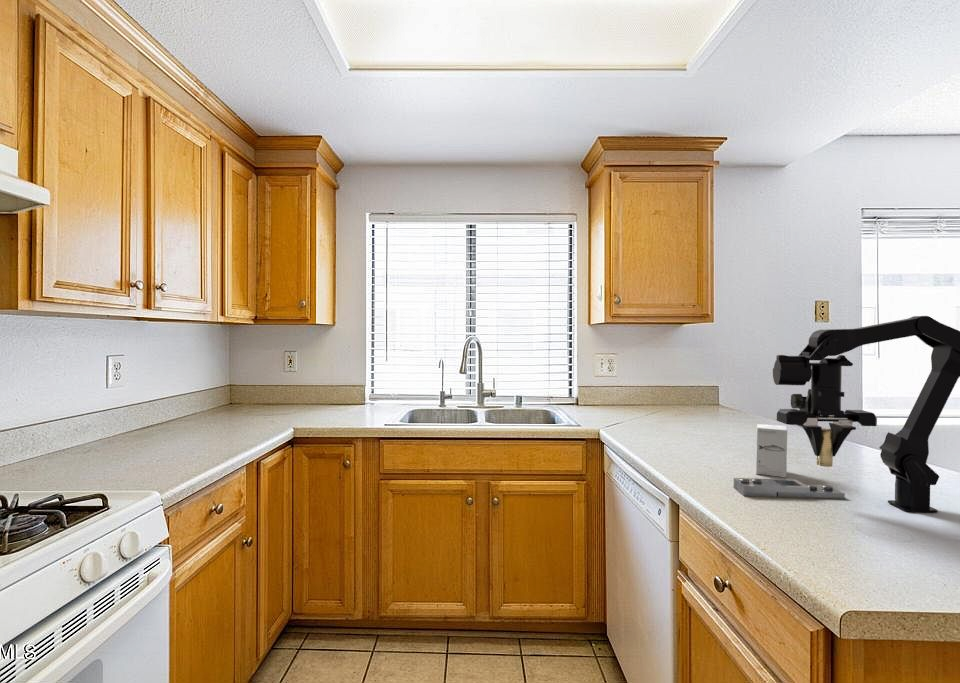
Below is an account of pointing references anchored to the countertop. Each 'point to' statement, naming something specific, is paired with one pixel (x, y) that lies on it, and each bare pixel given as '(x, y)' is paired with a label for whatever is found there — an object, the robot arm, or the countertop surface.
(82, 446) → the countertop surface
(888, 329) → the robot arm
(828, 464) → the brass pin
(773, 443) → the supplement box
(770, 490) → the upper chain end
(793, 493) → the lower chain end
